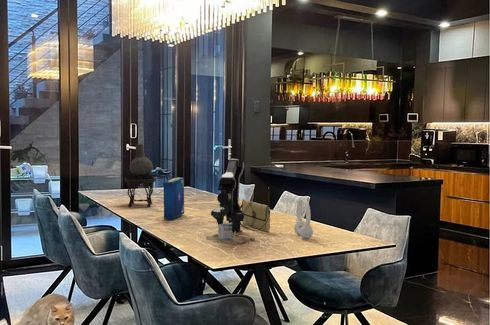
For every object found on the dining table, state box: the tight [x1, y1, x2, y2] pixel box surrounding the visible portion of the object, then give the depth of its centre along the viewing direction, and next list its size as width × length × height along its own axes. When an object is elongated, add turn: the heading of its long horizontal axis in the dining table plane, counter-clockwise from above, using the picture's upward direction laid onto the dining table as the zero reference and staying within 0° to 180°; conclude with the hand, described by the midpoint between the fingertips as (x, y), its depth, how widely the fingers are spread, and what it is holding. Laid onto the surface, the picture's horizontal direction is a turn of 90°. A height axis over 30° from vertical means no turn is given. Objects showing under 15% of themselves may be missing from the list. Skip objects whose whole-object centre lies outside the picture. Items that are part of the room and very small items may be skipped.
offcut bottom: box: [231, 240, 250, 245], centre depth 236 cm, size 7×5×2 cm
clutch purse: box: [240, 199, 271, 233], centre depth 272 cm, size 30×7×15 cm, turn 31°
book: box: [162, 176, 185, 221], centre depth 303 cm, size 22×7×25 cm, turn 168°
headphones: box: [293, 198, 314, 240], centre depth 252 cm, size 7×18×20 cm, turn 9°
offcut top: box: [232, 234, 250, 243], centre depth 236 cm, size 7×5×2 cm
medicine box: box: [217, 222, 236, 241], centre depth 242 cm, size 8×4×9 cm, turn 126°
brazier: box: [124, 143, 157, 208], centre depth 349 cm, size 22×22×45 cm
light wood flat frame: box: [205, 233, 256, 247], centre depth 241 cm, size 14×21×2 cm, turn 47°
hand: (227, 231), depth 243 cm, fingers open, 9 cm apart
